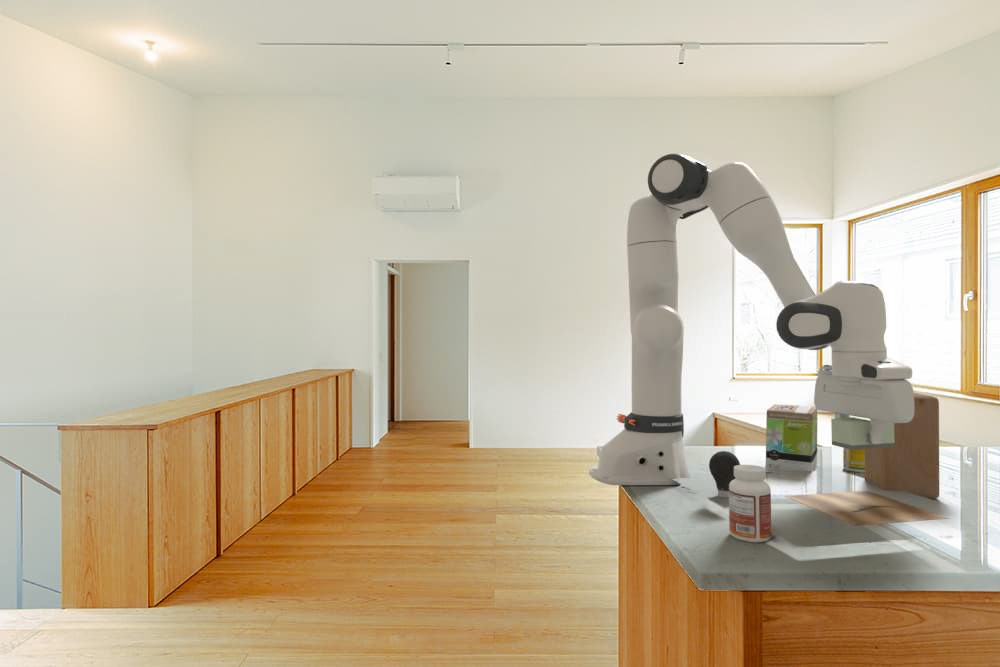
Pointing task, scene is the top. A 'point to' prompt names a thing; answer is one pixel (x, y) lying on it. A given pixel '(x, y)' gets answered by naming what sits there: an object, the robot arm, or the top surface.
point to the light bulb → (723, 471)
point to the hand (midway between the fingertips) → (860, 440)
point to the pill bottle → (750, 504)
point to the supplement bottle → (854, 460)
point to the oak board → (865, 508)
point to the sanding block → (859, 434)
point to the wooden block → (910, 453)
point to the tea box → (791, 438)
